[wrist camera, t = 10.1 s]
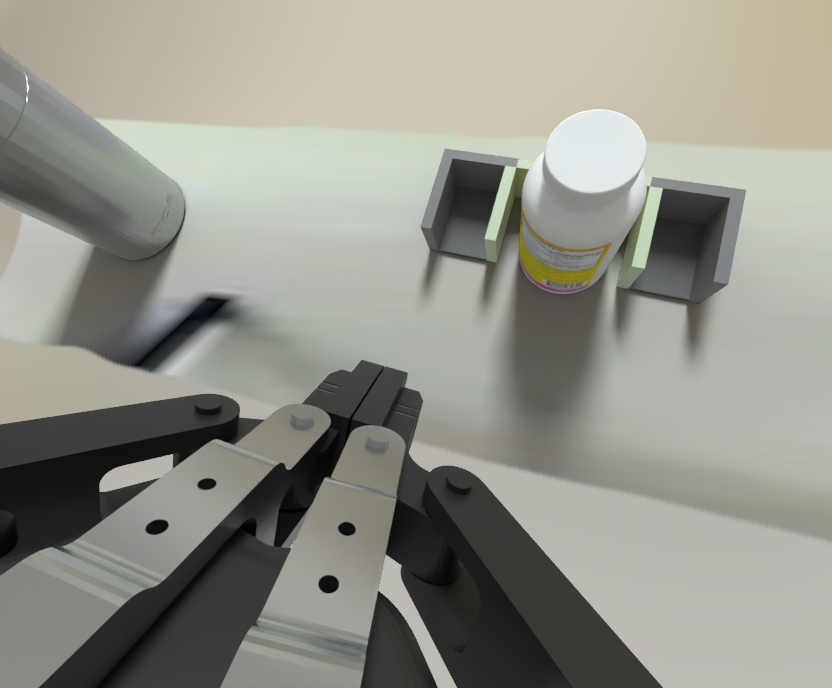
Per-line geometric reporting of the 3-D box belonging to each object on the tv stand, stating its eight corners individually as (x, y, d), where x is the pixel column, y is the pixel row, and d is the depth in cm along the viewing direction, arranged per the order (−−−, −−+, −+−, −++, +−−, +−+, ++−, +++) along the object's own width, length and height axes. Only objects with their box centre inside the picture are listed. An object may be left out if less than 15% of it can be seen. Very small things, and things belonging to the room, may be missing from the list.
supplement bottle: (567, 200, 34) (603, 65, 21) (627, 259, 32) (705, 149, 20) (500, 252, 34) (497, 148, 22) (555, 314, 32) (587, 239, 20)
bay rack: (429, 249, 35) (420, 226, 31) (451, 179, 36) (444, 148, 32) (699, 303, 30) (727, 284, 26) (716, 220, 31) (746, 189, 27)
